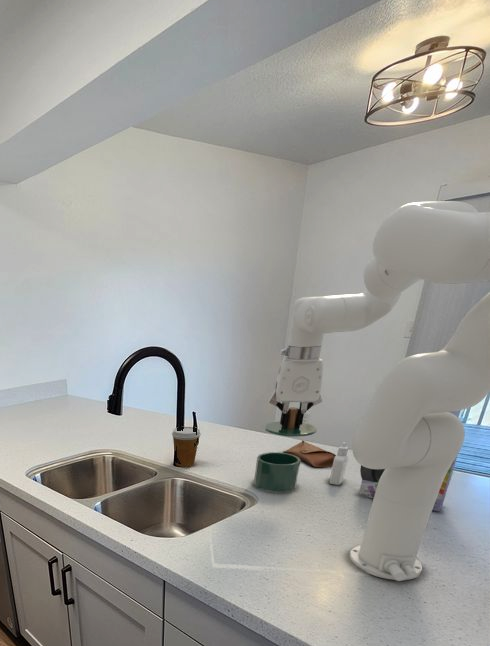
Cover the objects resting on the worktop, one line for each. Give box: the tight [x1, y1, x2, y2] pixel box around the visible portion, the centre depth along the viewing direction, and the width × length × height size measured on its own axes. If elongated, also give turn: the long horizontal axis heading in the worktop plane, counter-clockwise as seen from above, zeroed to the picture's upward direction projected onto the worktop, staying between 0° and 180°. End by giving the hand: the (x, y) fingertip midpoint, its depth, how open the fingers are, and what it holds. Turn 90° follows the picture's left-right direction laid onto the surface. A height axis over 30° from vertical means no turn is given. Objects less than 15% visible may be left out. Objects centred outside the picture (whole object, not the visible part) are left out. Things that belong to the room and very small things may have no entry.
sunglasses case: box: [283, 439, 337, 468], centre depth 148 cm, size 18×7×7 cm, turn 12°
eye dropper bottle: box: [328, 442, 349, 486], centre depth 127 cm, size 4×6×12 cm
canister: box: [253, 451, 302, 493], centre depth 128 cm, size 11×11×8 cm
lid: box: [264, 406, 318, 438], centre depth 114 cm, size 13×13×6 cm
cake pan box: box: [358, 454, 459, 512], centre depth 112 cm, size 19×5×18 cm, turn 45°
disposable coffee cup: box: [171, 426, 202, 468], centre depth 147 cm, size 10×10×12 cm
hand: (290, 426), depth 115 cm, fingers closed on lid, 2 cm apart
